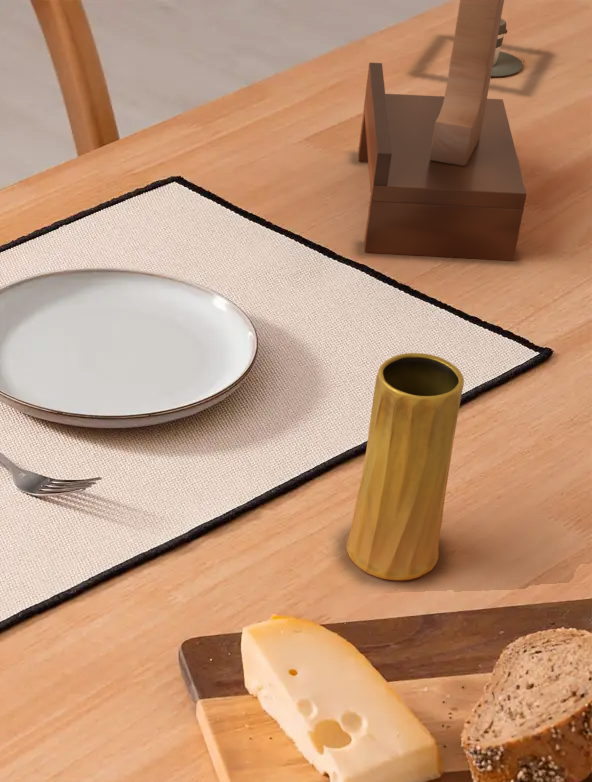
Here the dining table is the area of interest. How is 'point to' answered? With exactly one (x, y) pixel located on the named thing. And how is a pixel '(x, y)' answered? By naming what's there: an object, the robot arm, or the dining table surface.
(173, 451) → the dining table surface
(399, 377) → the vase
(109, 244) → the dining table surface
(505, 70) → the coffee cup
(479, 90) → the wooden block
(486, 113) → the wooden box with backboard
